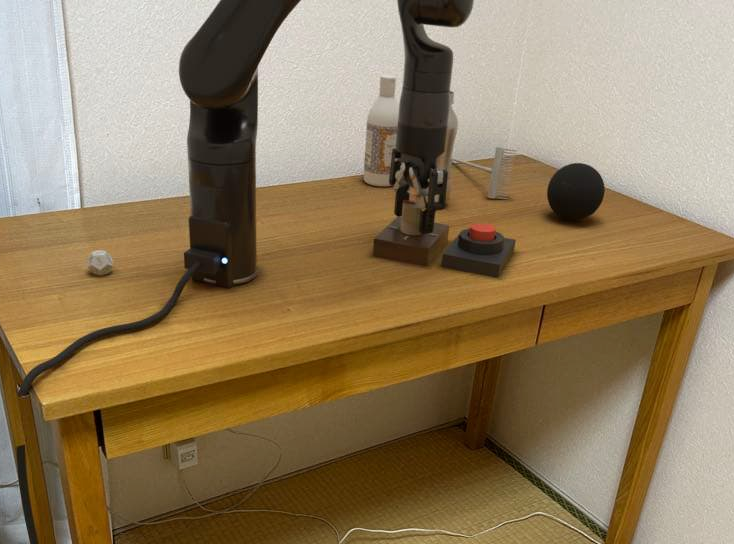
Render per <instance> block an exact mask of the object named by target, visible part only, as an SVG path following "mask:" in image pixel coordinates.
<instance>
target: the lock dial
mask: <svg viewBox="0 0 734 544" xmlns="http://www.w3.org/2000/svg"><path fill="white" fill-rule="evenodd" d="M421 210H422V209H421V205H420V201H419V200H418V199H409V200H404V201H403V207H402V216H401V217H402V218H401V229H400V230H401V232H402V233H404V234H407V235H422V234H421V233H420V232H419V222H420V212H421Z"/></svg>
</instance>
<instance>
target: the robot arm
mask: <svg viewBox="0 0 734 544" xmlns="http://www.w3.org/2000/svg"><path fill="white" fill-rule="evenodd" d="M301 1H302V0H219V1H218V3H217V4H216V6H215V7H214V8H213V10H212V11H211V13H210V14H209V15H208V17H207V18H206V19H205V21H204V22H203V24H202V25H201V26H200V27H199V29H198V30H197V31H196V33H194V35H193V36H192V37H191V38H189V41H187V43H186V44H185V46H184V47H183V49H182V51H181V53H180V57H179V61H178V77H179V82H180V85H181V88H182V91H183V92H184V94H185V96H186V97H187V98H188V99H189V121H188V130H187V136H186V149H187V150H186V151H187V167H188V189H189V209H190V216H189V217H188V234H189V235H188V236H189V249H187V250H185V251H184V252H183V263H184V269H185V270H186V272H185V273H184V274H183V275H182V277H181V278H180V280H179V281H178V282H177V284H176V287H175V289H174V291H173V293H172V294H171V296H170V298H169V299H168V301H167V302H166V303H165V305H164V306H163V308H162V309H161V310H159V311H158V312H156V313H154V314H152V315H151V316H148V317H146V318H143V319H141V320H137V321H133V322H132V321H131V322H128V323H123V324H117V325H112V326H107V327H103V328H100V329H96V330H94V331H92V332H90V333H87V334H85V335H83V336H82V337H80V338H78V339H77V340H75V341H74V342H72V343H71V344H70V345H68V346H67V347H66V348H65V349H63V350H62V351H61V352H59V353H58V354H57V355H55V356H53V357H52V358H51V359H48V360H46V361H43V362H42V363H39V364H38V365H36V366H34V367H33V368H32V369H30V370H29V372H27V374H26V376H25V377H24V378H23V380H22V382H21V384H20V386H19V389H18V392H17V396H18V397H24V396H26V395H28V393H29V390H30V388H31V386H32V384H33V383H34V381H35V380H36V379H37V378H38V377H39V376H40V375H41V374H43V373H45V372H47V371H49V370H51V369H54V368H55V367H57V366H59V365H60V364H62V363H64V361H66V360H67V359H68V358H70V357H71V356H72V355H73V354H74V353H76V352H77V351H78V350H80V349H81V348H82V347H84V346H86V345H87V344H89V343H91V342H93V341H96V340H98V339H100V338H103V337H107V336H110V335H114V334H120V333H126V332H130V331H136V330H139V329H143V328H146V327H149V326H151V325H154V324H155V323H157V322H159V321H161V320H162V319H164V318H165V317H166V316H167V315H168V314H169V313H170V312H171V311H172V309H173V308H174V306H175V304H176V303H177V302H178V300H179V299H180V297H181V295H182V293H183V290H184V288H185V287H186V285H187V283H188V282H189V280H190V279H191V280H192V281H195V282H200V283H204V284H209V285H212V286H213V285H214V286H219V287H222V288H227V289H229V288H231V287H233V286H237V285H241V284H246V283H248V282H251V281H253V280H254V279H255V278H256V277H257V276H258V261H257V259H258V258H257V257H258V256H257V254H258V253H257V252H258V251H257V248H258V247H257V157H256V156H257V139H258V137H257V136H258V127H259V126H258V125H259V65H260V63H261V61H262V59H263V57H264V55H265V53H266V51H267V49H268V48H269V47H270V44H271V42H272V40H273V39H274V37H275V35H276V34H277V32H278V30H279V29H280V27H281V26H282V24H283V23H284V21H286V19H287V18H288V16H289V15H290V14H291V13H292V12H293V10H294V9H295V8H296V7H297V6H298V4H299V3H301ZM474 3H475V0H396V4H397V11H398V16H399V21H400V27H401V34H402V41H403V42H402V43H403V52H404V63H403V75H402V88H401V93H400V97H399V102H398V104H399V113H398V125H397V137H396V148H393V150H392V157H391V166H390V175H389V184H390V185H393V192H394V193H395V197H394V198H395V199H394V207H393V209H394V210H393V214H394V216H396V217H398V216H400V217H402V207H403V201H404V200H410V195H411V194H410V191H411V189H412V190H414V194H415V197H416V198H417V197H418V198H419V200H420V205H421V209H422V210H421V212H420V222H419V232H420V233H421V234H430V233H432V232H433V228H434V223H435V218H436V212H437V211H442V210H445V209H446V203H445V201H446V189H447V178H448V172H447V170H446V169H445V170H438V169H437V165H436V159H437V157H438V156H440V155H442V154H443V153H444V151H445V145H446V136H447V128H448V119H449V110H450V91H451V84H452V77H453V68H454V51H453V50H452V49H451V47H450V46H448V45H445V44H442V43H440V42H438V41H436V40H433V39H431V38H430V37H429V36H428V34H427V32H426V29H425V26H424V25H426V26H434V27H441V28H443V27H444V28H459V27H461V26H462V25H464V24H465V23H466V22H467V21H468V20H469V18H470V16H471V14H472V12H473V8H474ZM396 171H399V172H398V174H397V176H396V177H395V175H396ZM428 187H429V189H427V188H428ZM423 189H425V190H423ZM437 195H439V202H438V199H437ZM426 196H428V202H427V201H426ZM15 448H16V451H15V452H16V454H15V455H16V467H17V468H16V469H17V478H18V487H19V494H20V501H21V506H22V512H23V513H22V514H23V518H24V523H25V528H26V532H27V536H28V537H27V538H28V542H29V544H40V543H39V539H38V533H37V529H36V525H35V519H34V514H33V509H32V503H31V496H30V489H29V482H28V481H29V480H28V472H27V471H28V470H27V456H26V444H22V445H18V446H15Z"/></svg>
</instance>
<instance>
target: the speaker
mask: <svg viewBox="0 0 734 544" xmlns="http://www.w3.org/2000/svg"><path fill="white" fill-rule="evenodd" d="M546 198H547V202H548V205H549V207H550V208H551V210H552V211H553V212H554V213H555V214H556V215H557V216H558V217H560V218H562V219H564V220H568V221H580V220H584V219H587V218H589V217H590V216H592V215H594V213H596V212H597V211H598V209H599V208H600V207H601V205H602V203H603V200H604V198H605V182H604V178H603V177H602V175H601V174H600V172H599V171H598V170H597V169H596V168H594V167H593V166H592V165H589V164H586V163H583V162H573V163H572V162H571V163H569V164H566V165H564V166H562V167H560V168H559V169H558V170H556V172H555V173H554V174H553V175H552V176H551V178H550V180H549V182H548V184H547V190H546Z"/></svg>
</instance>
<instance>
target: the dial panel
mask: <svg viewBox="0 0 734 544" xmlns="http://www.w3.org/2000/svg"><path fill="white" fill-rule="evenodd" d="M401 218H402V216H396V217H395V218H394V219H393V220H392V221H391V222H390V223H389V224H388V225H387V226H385V227H384V228H383V229H382V230H381V231H380V232H379V233H378V234H377V235H376V236H375V237H374V238H373V247H372V248H373V249H372V257H375V258H381V259H386V260H391V261H396V262H400V263H401V262H402V263H406V264H410V265H411V264H412V265H416V266H420V267H421V266H422V267H426V268H427V267H428V266H429V265H430V264H431V263H432V261H433V260H434V259H435V258H436V257H437V256H438V254H439V253H440V252H441V251H442V250H443V249H444V247H445V246H446V245H447V244H448V242H449V241H448V240H449V235H450V233H449V232H450V224H445V223H439V222H434V228H433V232H432V233H430V234H422V235H407V234H404V233H402V232H401V230H400V229H401Z"/></svg>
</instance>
